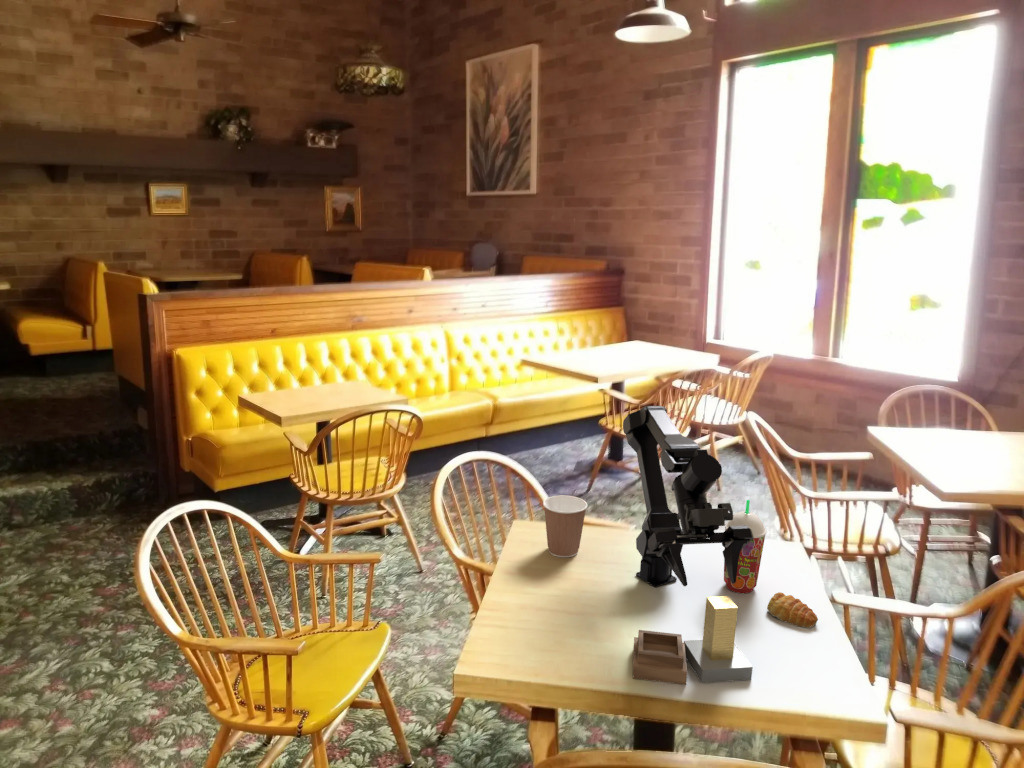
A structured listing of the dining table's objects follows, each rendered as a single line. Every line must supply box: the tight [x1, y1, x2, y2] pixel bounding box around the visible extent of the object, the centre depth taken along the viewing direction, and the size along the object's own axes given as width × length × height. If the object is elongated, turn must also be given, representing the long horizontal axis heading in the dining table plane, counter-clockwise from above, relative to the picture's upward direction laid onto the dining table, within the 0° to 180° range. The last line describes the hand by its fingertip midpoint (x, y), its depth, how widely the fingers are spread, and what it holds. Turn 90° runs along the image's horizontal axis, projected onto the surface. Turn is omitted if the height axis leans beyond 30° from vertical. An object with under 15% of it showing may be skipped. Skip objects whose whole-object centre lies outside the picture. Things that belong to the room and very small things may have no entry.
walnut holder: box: [632, 629, 688, 686], centre depth 134 cm, size 9×9×4 cm
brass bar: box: [702, 595, 739, 661], centre depth 133 cm, size 4×4×10 cm
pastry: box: [766, 591, 819, 629], centre depth 151 cm, size 9×7×4 cm
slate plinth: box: [683, 639, 753, 684], centre depth 135 cm, size 9×9×2 cm
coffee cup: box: [542, 494, 588, 558], centre depth 177 cm, size 10×10×12 cm
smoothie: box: [723, 499, 767, 594], centre depth 161 cm, size 8×8×20 cm
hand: (709, 584), depth 137 cm, fingers open, 9 cm apart
